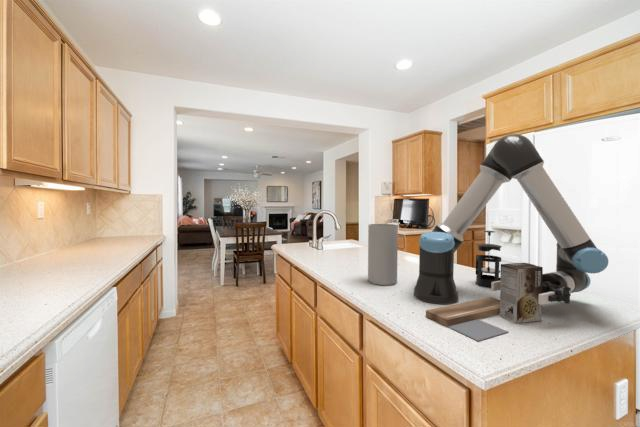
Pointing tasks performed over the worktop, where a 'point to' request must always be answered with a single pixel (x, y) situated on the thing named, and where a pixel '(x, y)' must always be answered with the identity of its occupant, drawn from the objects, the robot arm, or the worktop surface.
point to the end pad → (478, 330)
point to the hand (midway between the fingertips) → (514, 292)
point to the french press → (487, 279)
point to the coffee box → (521, 292)
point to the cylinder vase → (382, 253)
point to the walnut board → (465, 311)
